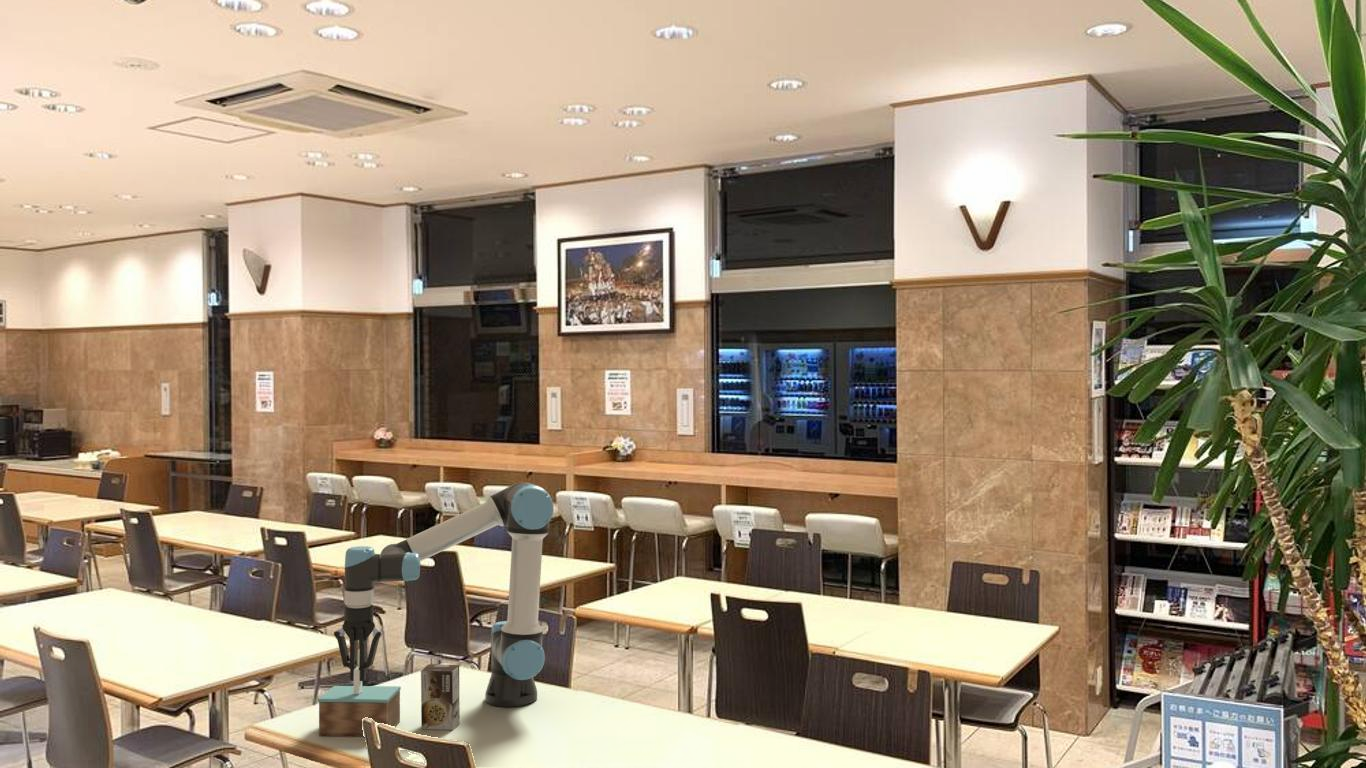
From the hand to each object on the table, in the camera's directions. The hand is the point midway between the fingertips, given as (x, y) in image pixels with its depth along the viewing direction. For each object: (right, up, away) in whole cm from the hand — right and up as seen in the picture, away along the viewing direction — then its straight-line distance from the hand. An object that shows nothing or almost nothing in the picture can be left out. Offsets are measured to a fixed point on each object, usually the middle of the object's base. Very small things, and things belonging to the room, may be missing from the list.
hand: (357, 692), depth 282 cm
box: (0, -10, +1) cm, 10 cm away
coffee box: (+21, -11, +4) cm, 24 cm away
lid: (0, -1, +1) cm, 2 cm away
